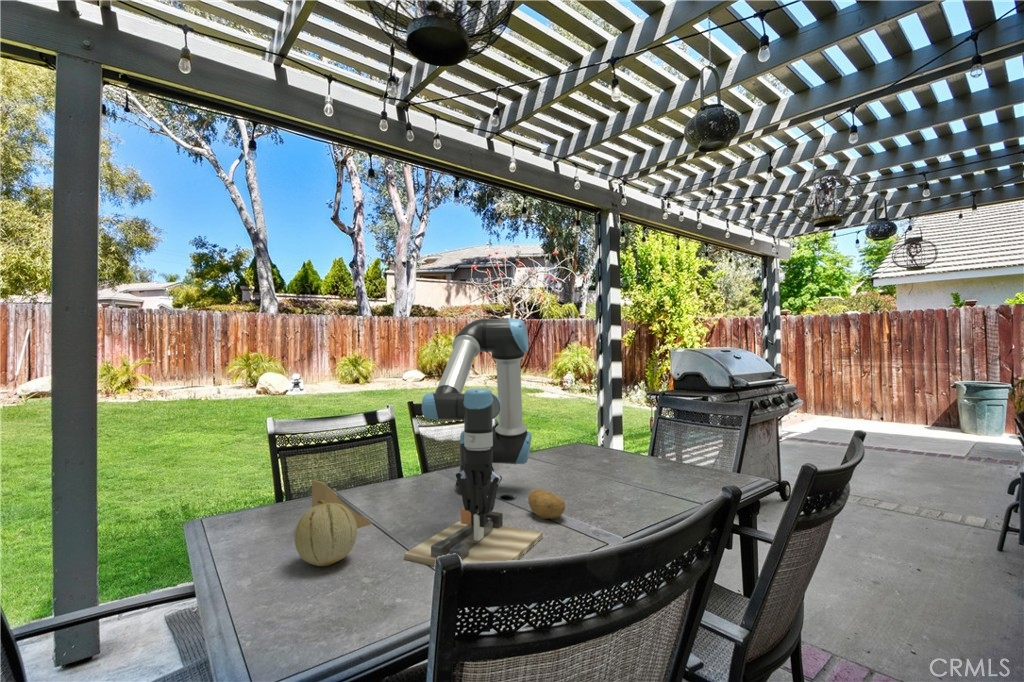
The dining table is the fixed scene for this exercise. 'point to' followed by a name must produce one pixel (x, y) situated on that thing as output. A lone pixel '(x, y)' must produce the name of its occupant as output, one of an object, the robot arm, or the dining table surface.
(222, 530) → the dining table surface
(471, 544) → the upper tong arm
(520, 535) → the tongs board
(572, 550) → the dining table surface
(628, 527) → the dining table surface
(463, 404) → the robot arm
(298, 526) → the cantaloupe
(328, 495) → the sandwich container
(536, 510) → the potato
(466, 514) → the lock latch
